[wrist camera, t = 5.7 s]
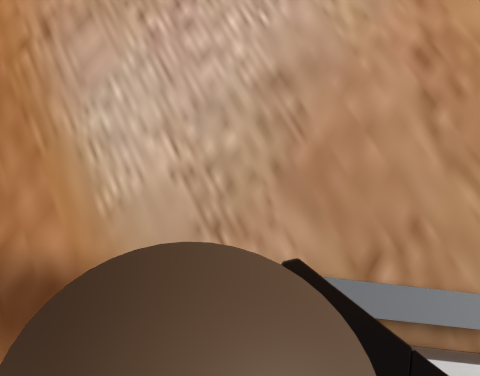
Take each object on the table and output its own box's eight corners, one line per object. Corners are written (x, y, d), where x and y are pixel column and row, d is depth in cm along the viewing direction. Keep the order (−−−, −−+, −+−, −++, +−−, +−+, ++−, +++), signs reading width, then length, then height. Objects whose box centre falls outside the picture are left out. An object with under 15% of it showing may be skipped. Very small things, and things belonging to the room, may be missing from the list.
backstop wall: (561, 333, 23) (652, 348, 18) (238, 298, 23) (242, 303, 18) (559, 305, 23) (648, 312, 18) (241, 270, 23) (245, 268, 18)
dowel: (257, 395, 15) (358, 776, 3) (151, 369, 15) (-103, 653, 4) (279, 286, 16) (420, 291, 4) (179, 262, 16) (52, 202, 4)
